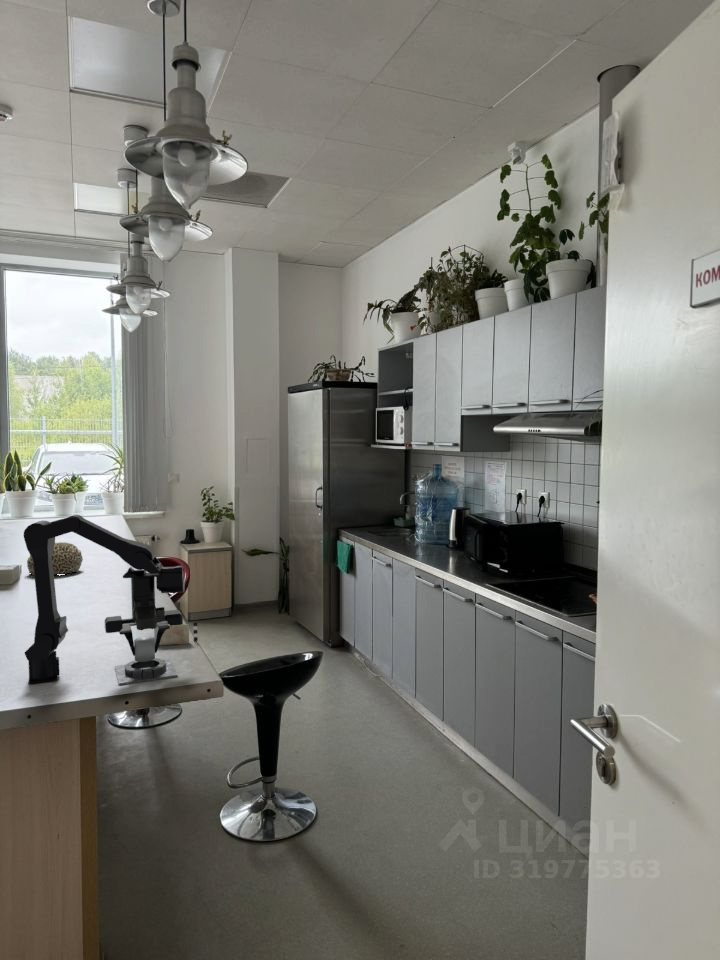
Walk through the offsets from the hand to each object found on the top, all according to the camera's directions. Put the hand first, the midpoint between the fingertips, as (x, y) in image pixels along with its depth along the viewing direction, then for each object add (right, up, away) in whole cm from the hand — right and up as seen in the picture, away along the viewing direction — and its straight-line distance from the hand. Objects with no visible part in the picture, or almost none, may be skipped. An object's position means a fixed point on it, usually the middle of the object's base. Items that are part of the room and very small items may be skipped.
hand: (144, 653), depth 172 cm
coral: (-83, +2, +132) cm, 155 cm away
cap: (0, -1, 0) cm, 1 cm away
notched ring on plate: (0, -5, 0) cm, 5 cm away
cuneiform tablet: (+1, -4, +25) cm, 25 cm away
